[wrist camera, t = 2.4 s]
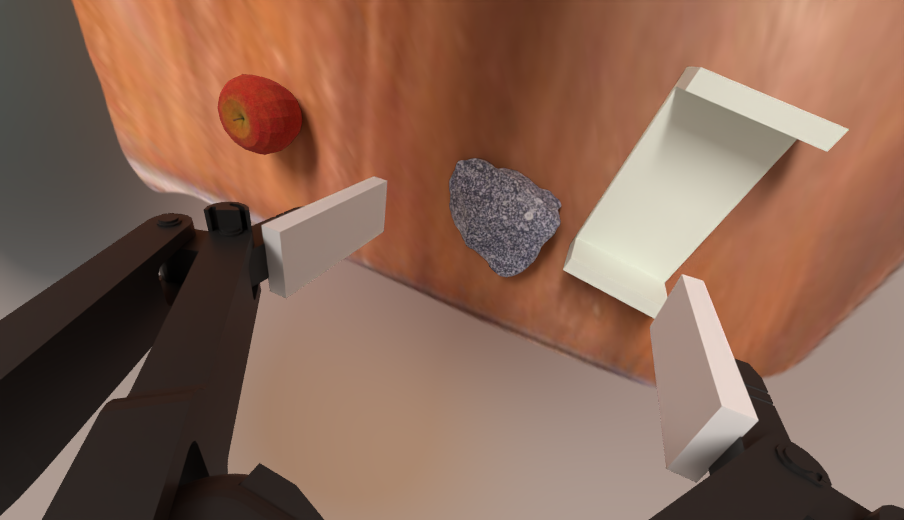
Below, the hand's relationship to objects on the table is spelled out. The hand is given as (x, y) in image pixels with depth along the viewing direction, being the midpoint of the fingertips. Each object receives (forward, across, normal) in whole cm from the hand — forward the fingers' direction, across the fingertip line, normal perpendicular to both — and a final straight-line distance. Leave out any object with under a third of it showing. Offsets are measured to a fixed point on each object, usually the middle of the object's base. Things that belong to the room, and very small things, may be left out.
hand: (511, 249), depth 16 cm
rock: (+21, -5, -7) cm, 23 cm away
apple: (+21, -32, -3) cm, 38 cm away
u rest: (+21, +9, -1) cm, 23 cm away
